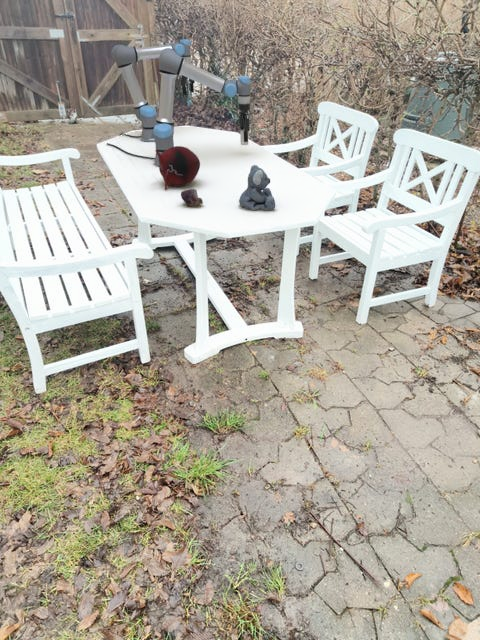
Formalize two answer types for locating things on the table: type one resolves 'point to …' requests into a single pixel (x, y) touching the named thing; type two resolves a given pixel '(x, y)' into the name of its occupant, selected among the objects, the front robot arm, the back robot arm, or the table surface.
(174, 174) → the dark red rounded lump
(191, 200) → the rock
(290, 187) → the table surface
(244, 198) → the koala plush
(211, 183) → the table surface
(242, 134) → the canister
